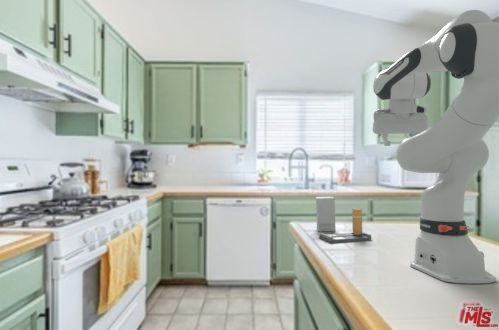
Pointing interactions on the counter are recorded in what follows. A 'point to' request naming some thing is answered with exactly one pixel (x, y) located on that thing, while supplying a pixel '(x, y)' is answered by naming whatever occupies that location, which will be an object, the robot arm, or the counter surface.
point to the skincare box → (325, 213)
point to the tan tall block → (357, 222)
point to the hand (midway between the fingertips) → (399, 145)
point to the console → (344, 237)
